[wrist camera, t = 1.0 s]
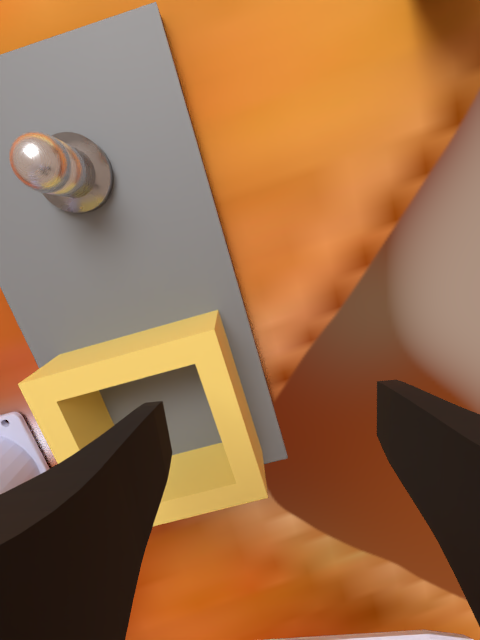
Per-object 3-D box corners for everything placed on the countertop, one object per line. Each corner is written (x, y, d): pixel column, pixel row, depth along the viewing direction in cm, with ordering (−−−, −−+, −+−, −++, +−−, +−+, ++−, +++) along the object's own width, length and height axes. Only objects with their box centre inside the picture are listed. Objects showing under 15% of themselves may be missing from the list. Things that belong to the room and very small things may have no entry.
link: (119, 487, 23) (96, 540, 19) (59, 354, 20) (17, 384, 16) (262, 451, 22) (268, 497, 18) (218, 309, 20) (214, 329, 16)
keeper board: (109, 493, 24) (104, 504, 23) (-78, 94, 18) (-96, 87, 17) (285, 448, 23) (287, 458, 22) (160, 15, 17) (155, 1, 16)
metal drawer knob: (58, 221, 18) (3, 219, 14) (27, 147, 17) (-42, 120, 13) (124, 201, 18) (89, 192, 14) (97, 125, 17) (50, 90, 13)
